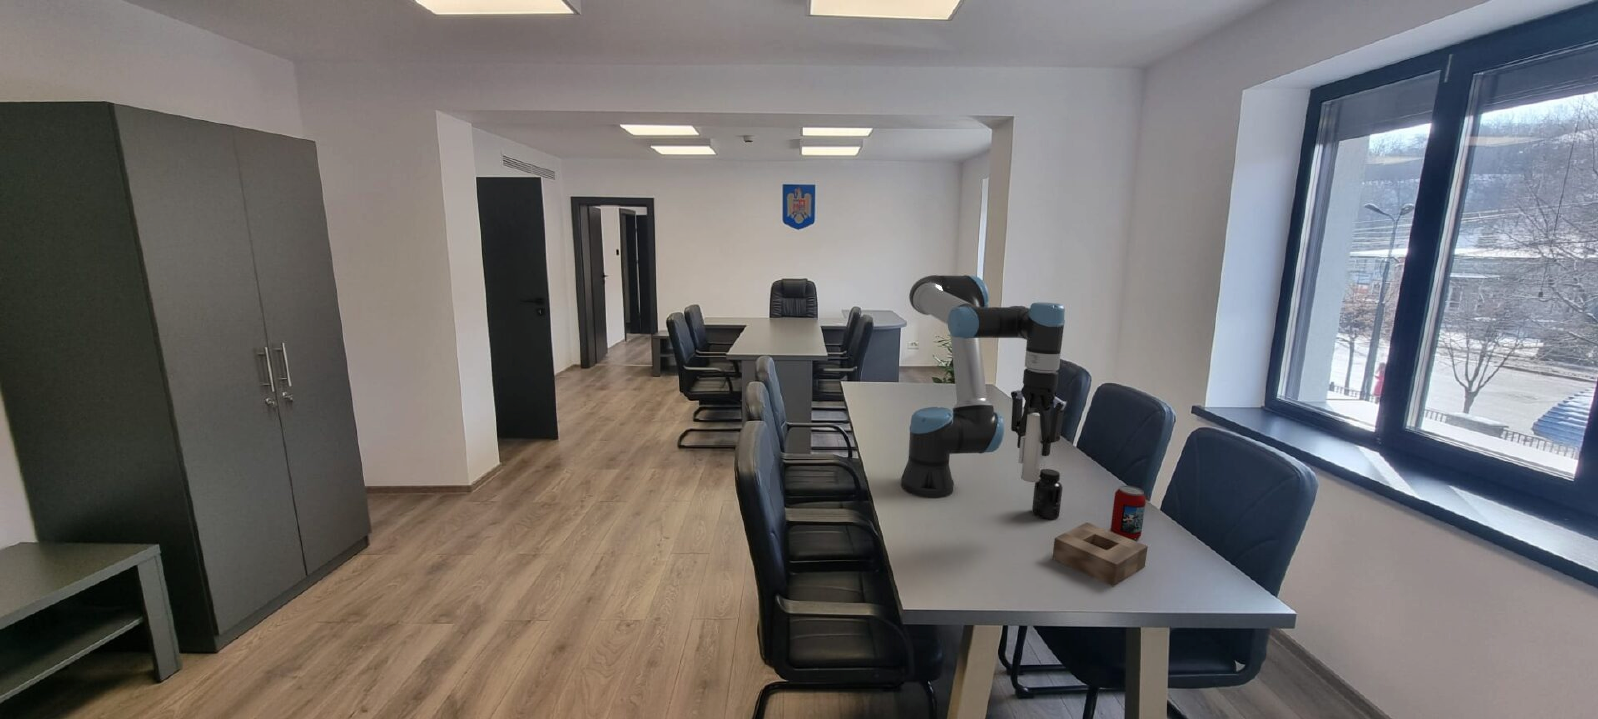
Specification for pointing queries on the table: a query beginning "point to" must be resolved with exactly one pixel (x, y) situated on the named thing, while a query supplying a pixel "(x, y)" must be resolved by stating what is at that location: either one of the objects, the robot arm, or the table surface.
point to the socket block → (1100, 553)
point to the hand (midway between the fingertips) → (1031, 464)
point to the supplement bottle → (1047, 495)
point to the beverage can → (1128, 512)
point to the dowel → (1031, 448)
